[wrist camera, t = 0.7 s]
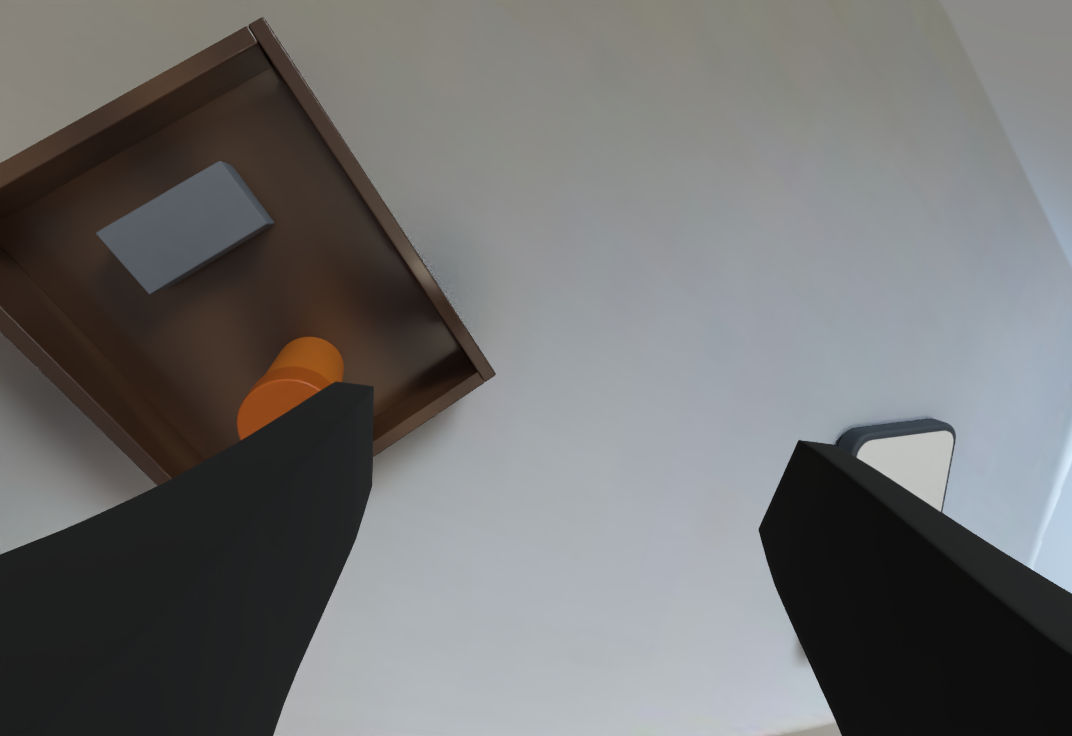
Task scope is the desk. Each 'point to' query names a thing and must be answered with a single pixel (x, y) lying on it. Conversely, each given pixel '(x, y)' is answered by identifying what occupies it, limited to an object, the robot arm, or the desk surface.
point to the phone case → (907, 454)
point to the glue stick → (290, 382)
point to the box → (219, 264)
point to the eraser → (186, 227)
